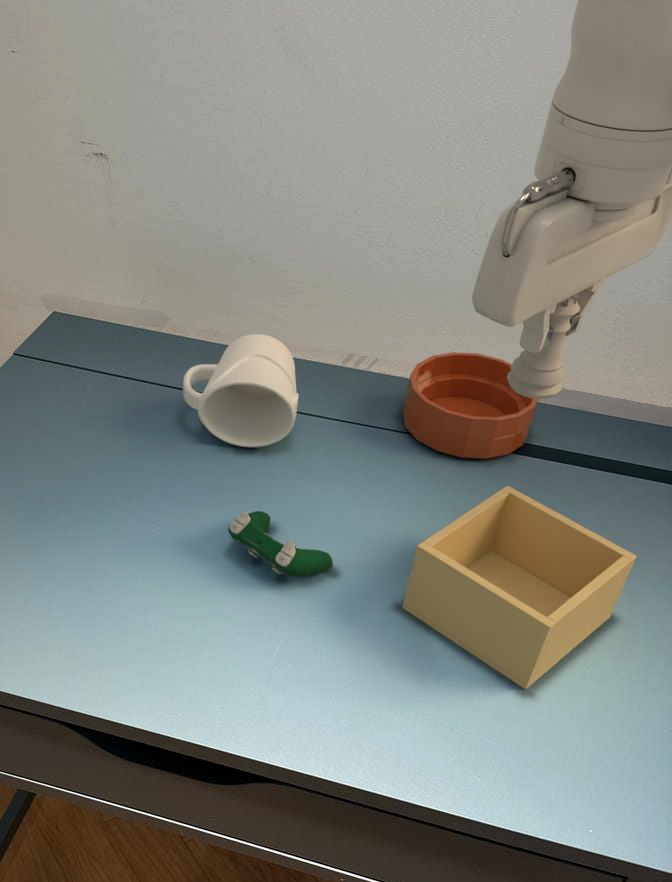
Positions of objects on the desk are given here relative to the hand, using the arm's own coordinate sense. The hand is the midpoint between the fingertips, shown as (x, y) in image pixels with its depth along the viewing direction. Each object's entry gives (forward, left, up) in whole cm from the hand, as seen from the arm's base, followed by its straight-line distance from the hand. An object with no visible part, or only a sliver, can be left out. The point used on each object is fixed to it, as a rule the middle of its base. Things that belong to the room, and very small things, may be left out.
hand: (548, 339), depth 78 cm
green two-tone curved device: (+17, -11, -21) cm, 29 cm away
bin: (+7, +7, -20) cm, 23 cm away
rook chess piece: (0, 0, -4) cm, 4 cm away
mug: (+4, -29, -21) cm, 36 cm away
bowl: (-14, -13, -20) cm, 28 cm away
